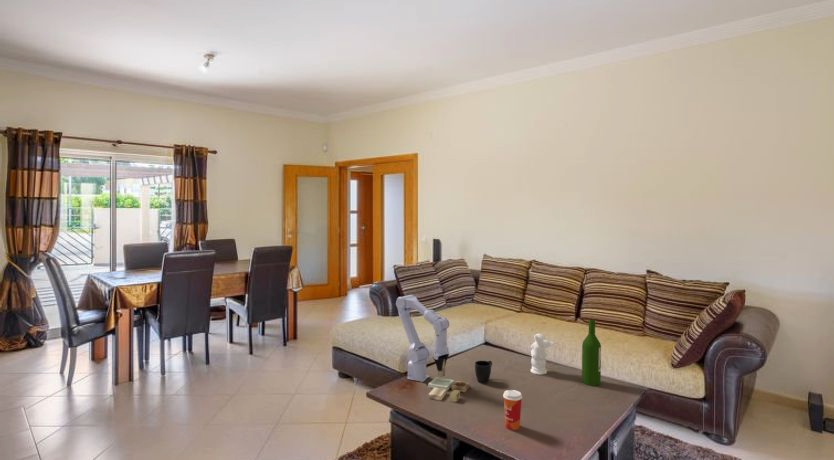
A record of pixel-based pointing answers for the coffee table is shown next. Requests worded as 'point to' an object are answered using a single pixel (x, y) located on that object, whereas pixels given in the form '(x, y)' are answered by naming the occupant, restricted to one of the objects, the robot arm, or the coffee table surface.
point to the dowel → (442, 373)
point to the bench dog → (455, 395)
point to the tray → (441, 383)
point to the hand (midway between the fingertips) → (441, 369)
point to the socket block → (460, 386)
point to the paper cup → (512, 409)
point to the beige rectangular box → (437, 394)
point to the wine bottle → (591, 358)
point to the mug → (483, 371)
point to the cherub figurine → (539, 354)
